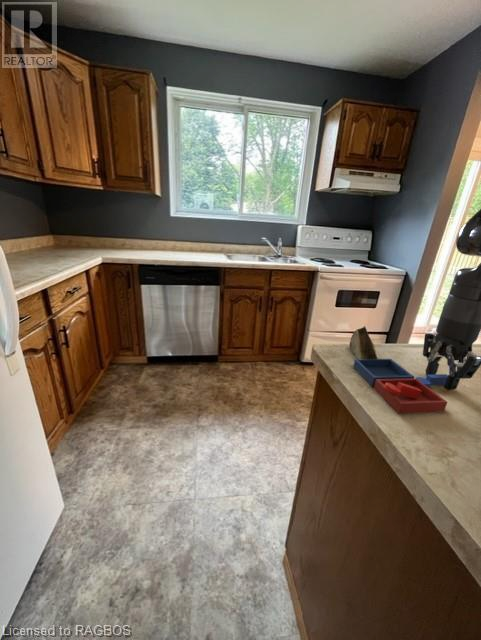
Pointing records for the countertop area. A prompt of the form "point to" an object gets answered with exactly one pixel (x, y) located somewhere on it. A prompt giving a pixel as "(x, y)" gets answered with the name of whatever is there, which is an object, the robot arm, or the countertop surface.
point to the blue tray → (380, 370)
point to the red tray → (404, 404)
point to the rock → (362, 344)
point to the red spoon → (403, 390)
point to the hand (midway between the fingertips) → (439, 382)
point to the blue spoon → (433, 379)
